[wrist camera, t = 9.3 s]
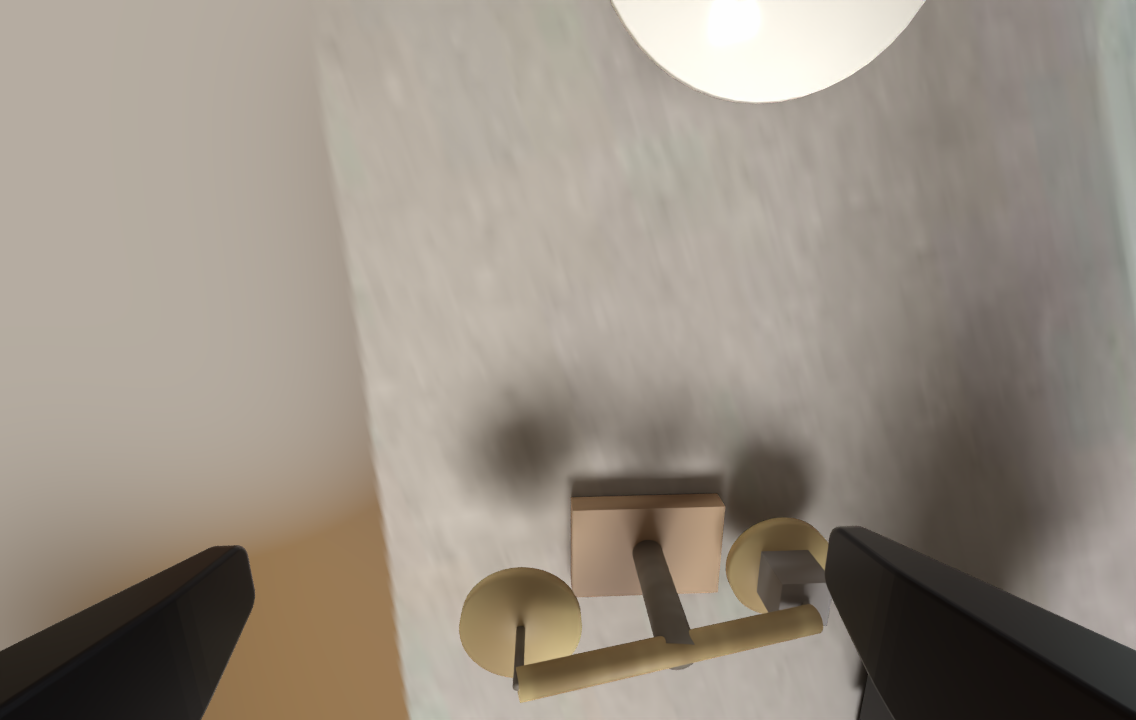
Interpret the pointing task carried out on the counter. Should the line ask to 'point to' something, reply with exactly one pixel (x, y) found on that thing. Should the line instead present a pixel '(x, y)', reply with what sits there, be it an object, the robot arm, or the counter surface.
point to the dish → (763, 42)
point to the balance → (646, 593)
